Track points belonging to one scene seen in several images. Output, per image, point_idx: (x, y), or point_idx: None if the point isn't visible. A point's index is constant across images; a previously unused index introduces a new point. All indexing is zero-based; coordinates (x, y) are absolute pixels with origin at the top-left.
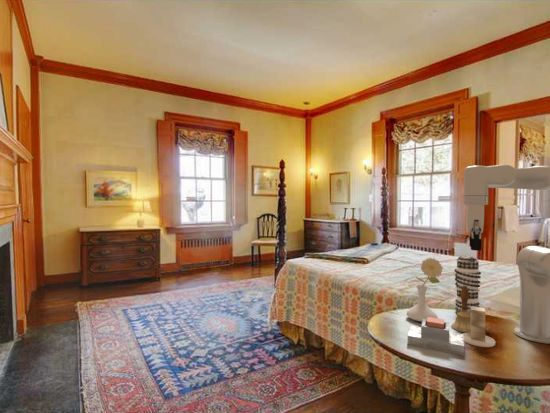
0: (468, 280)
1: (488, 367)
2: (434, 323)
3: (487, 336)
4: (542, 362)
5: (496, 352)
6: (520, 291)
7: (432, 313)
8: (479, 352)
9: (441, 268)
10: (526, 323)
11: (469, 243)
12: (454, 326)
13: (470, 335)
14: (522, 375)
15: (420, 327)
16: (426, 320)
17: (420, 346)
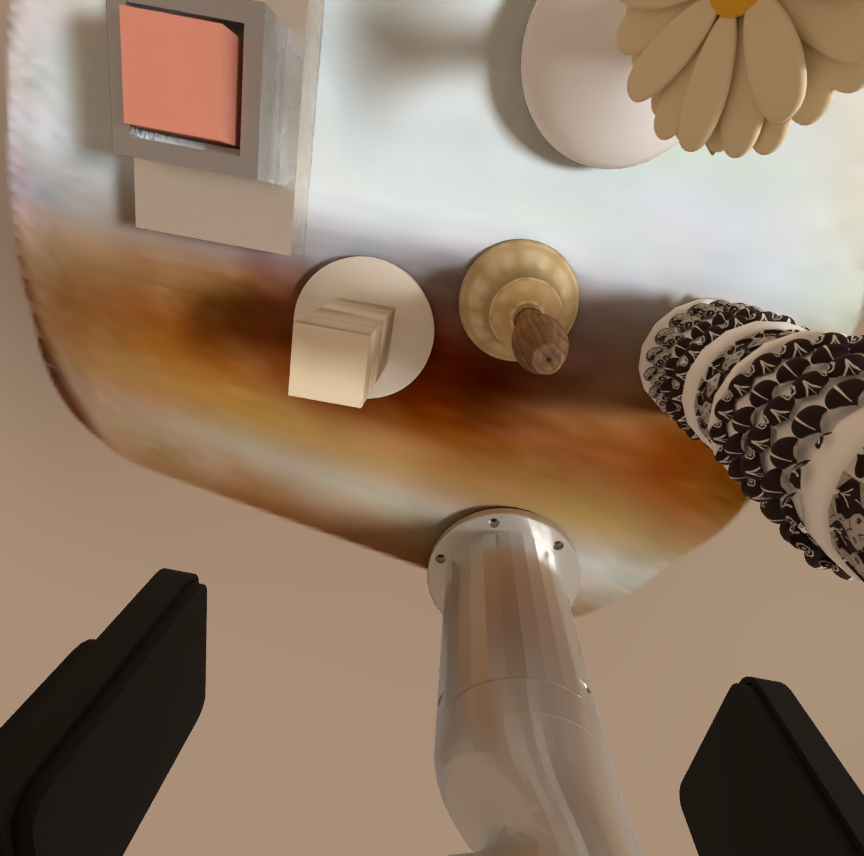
0: (753, 435)
1: (99, 300)
2: (125, 62)
3: (406, 381)
4: (242, 496)
5: (263, 371)
6: (526, 672)
7: (580, 123)
8: (231, 303)
9: (732, 137)
10: (472, 568)
11: (795, 734)
12: (498, 252)
13: (384, 306)
14: (97, 396)
15: (301, 10)
16: (244, 26)
17: None
